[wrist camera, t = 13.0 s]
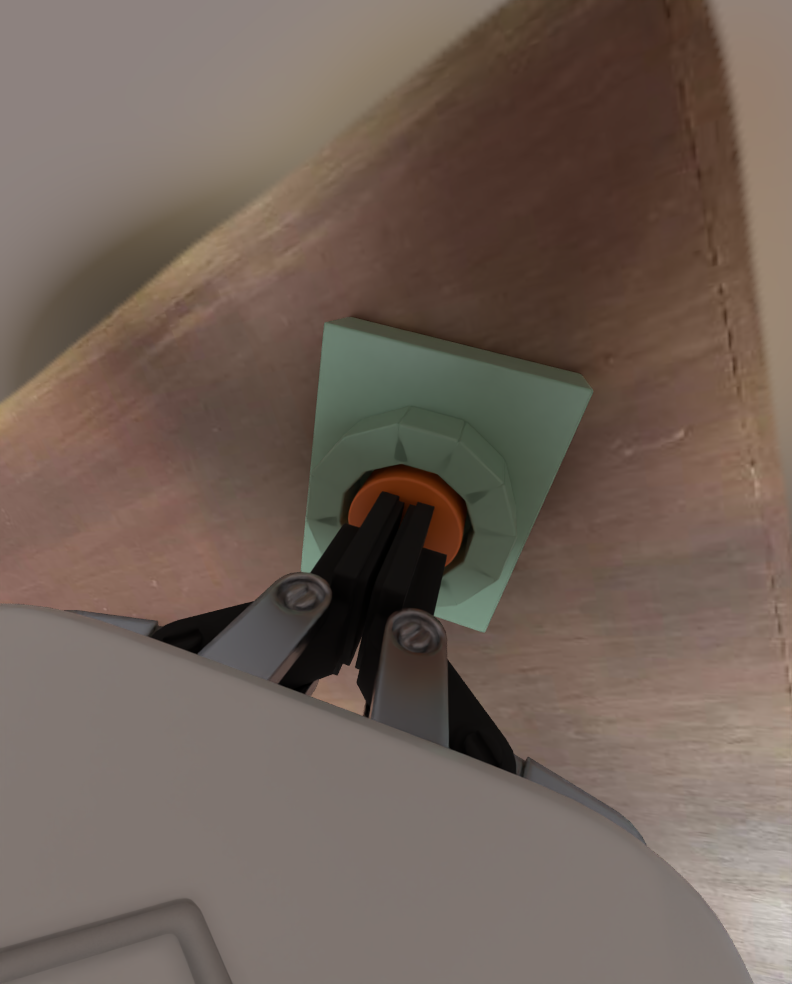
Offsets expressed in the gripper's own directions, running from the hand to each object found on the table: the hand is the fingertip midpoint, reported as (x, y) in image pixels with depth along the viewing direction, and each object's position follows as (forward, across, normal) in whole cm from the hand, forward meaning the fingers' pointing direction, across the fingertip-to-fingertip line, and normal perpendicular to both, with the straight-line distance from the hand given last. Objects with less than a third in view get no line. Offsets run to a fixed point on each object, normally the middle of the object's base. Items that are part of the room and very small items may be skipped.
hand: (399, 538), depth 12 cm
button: (+2, 0, 0) cm, 2 cm away
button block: (+4, 0, 0) cm, 4 cm away
